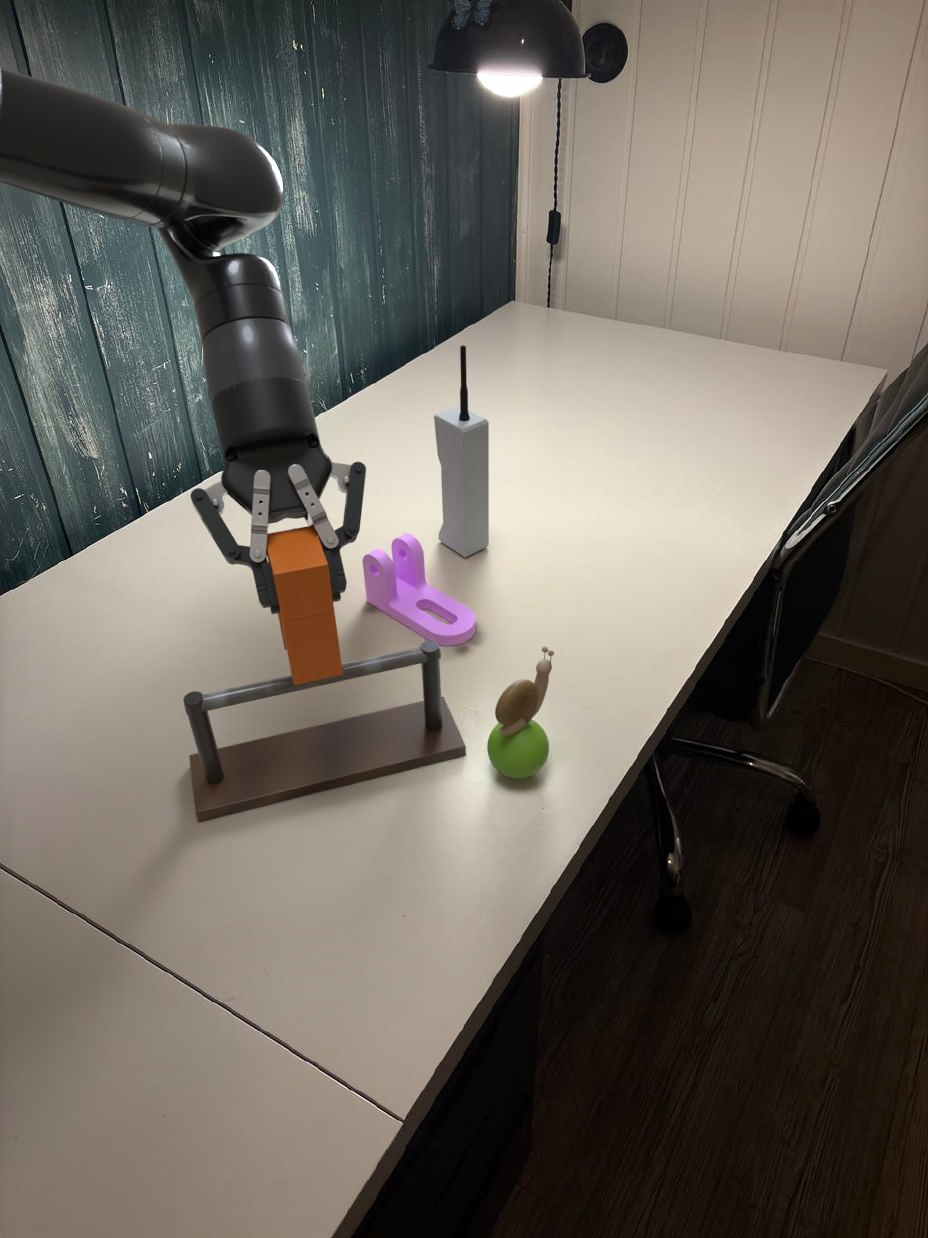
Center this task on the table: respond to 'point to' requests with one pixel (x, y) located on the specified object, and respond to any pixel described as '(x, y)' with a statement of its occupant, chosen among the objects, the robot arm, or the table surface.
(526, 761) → the snail figurine
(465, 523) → the vintage mobile phone
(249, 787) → the rail stand
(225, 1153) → the table surface
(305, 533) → the orange lidded gift box
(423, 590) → the bracket
